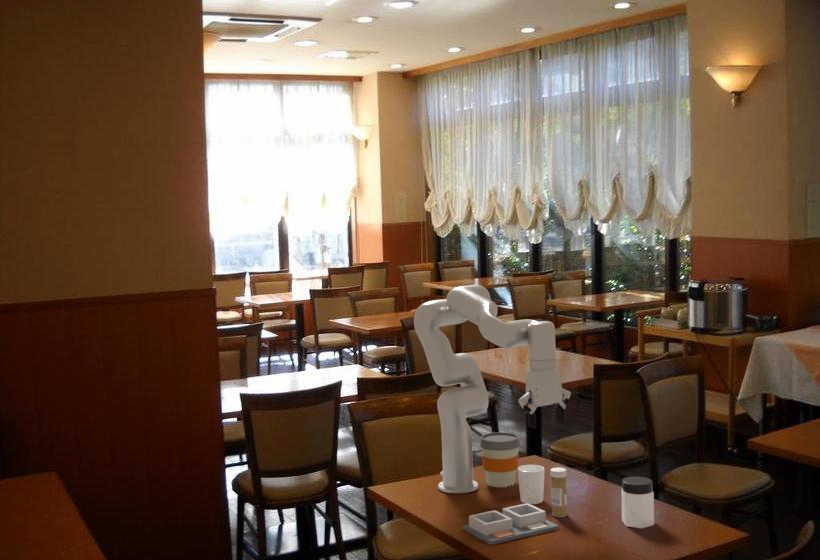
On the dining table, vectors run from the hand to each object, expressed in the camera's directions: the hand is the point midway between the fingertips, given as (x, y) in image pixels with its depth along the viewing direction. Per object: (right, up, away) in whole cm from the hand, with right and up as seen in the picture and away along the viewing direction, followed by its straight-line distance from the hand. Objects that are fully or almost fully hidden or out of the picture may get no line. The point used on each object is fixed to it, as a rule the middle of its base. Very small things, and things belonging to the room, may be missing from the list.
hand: (546, 424), depth 266 cm
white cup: (-2, -25, +15) cm, 30 cm away
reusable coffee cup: (-10, -24, +34) cm, 42 cm away
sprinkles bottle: (+4, -26, +1) cm, 27 cm away
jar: (+24, -26, -7) cm, 36 cm away
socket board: (-11, -27, -9) cm, 31 cm away
